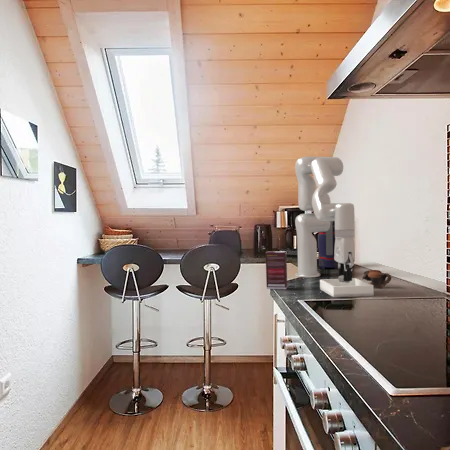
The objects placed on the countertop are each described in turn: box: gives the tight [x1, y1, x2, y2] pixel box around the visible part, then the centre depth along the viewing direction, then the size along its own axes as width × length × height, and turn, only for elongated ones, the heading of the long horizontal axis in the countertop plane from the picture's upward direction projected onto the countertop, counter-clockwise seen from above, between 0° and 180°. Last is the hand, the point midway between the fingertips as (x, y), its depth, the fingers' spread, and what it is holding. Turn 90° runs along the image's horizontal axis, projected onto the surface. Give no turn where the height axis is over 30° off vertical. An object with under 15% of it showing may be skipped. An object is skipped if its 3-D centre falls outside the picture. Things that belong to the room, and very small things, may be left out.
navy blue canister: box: [318, 221, 338, 270], centre depth 214 cm, size 14×12×30 cm
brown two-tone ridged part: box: [361, 269, 392, 289], centre depth 160 cm, size 12×10×8 cm
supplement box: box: [265, 250, 288, 290], centre depth 160 cm, size 9×5×16 cm, turn 75°
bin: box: [319, 277, 375, 298], centre depth 150 cm, size 16×16×4 cm
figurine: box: [337, 270, 350, 283], centre depth 150 cm, size 5×4×6 cm
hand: (345, 279), depth 150 cm, fingers closed on figurine, 4 cm apart
